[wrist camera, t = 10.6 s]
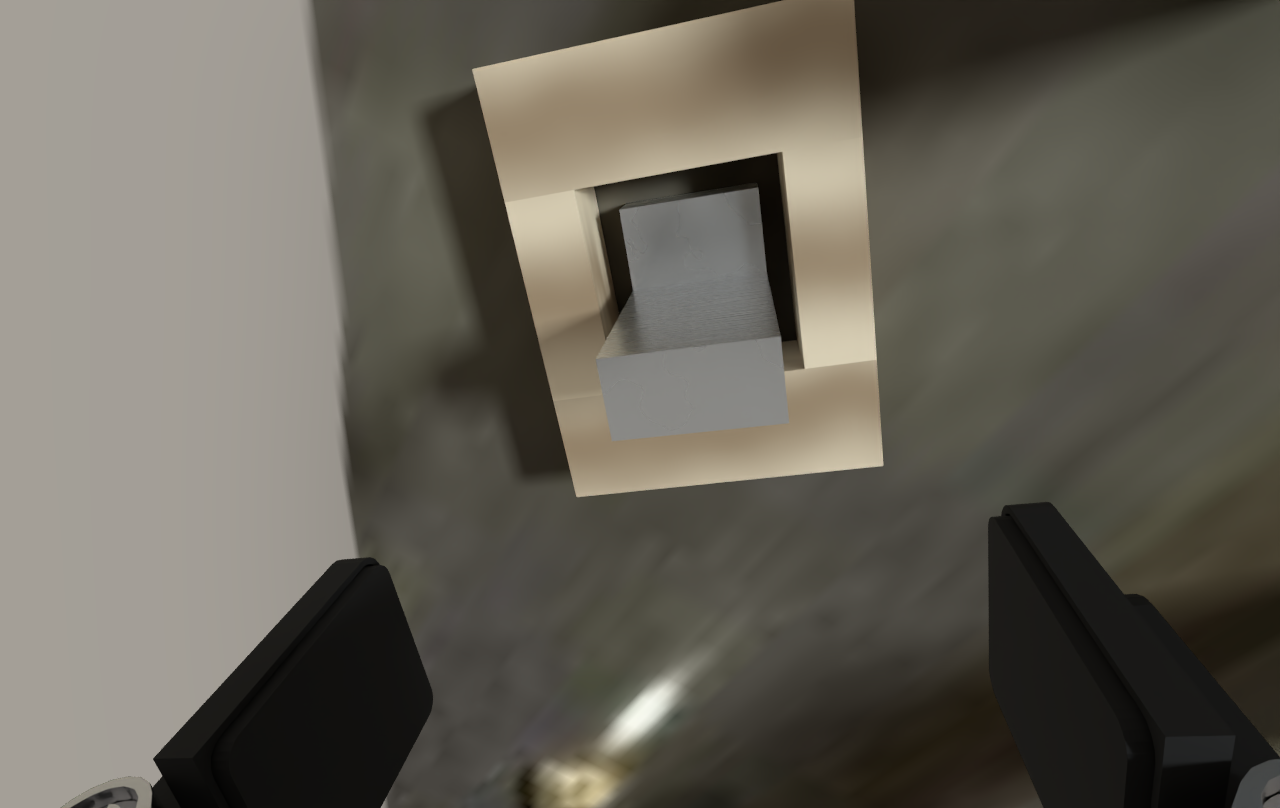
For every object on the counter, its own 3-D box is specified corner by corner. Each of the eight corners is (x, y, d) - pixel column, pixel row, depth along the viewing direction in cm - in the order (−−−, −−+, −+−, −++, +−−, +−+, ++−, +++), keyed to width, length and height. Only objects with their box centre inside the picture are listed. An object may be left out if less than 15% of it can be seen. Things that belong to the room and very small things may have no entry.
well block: (866, 427, 30) (883, 465, 26) (592, 458, 32) (576, 497, 29) (836, 1, 24) (852, -15, 21) (504, 74, 26) (472, 69, 23)
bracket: (770, 322, 28) (789, 423, 19) (649, 338, 29) (612, 441, 20) (756, 182, 26) (769, 220, 17) (626, 203, 27) (573, 249, 18)
